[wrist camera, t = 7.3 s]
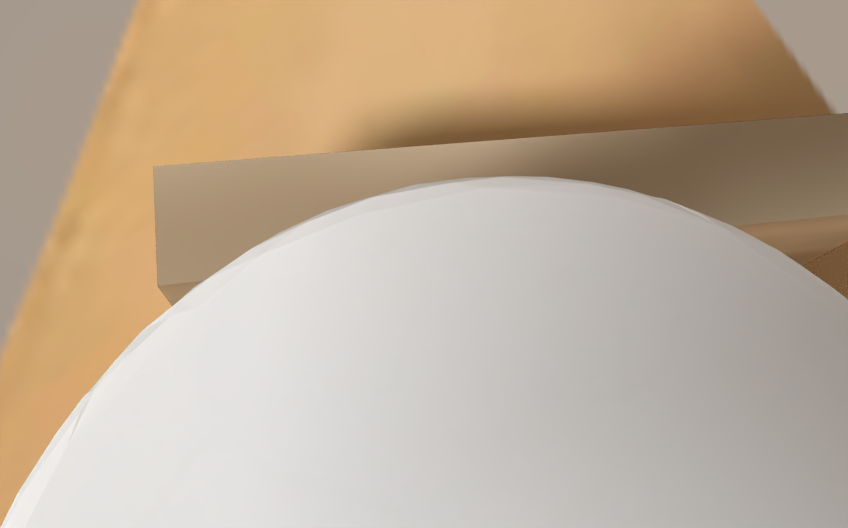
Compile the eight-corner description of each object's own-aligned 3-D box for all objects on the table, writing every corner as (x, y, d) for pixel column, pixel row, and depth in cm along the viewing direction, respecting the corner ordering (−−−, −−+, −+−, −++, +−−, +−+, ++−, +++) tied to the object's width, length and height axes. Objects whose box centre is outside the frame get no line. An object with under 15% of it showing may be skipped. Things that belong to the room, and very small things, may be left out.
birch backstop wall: (733, 303, 18) (910, 207, 13) (215, 367, 16) (157, 286, 11) (712, 231, 19) (870, 111, 14) (211, 284, 17) (153, 166, 11)
